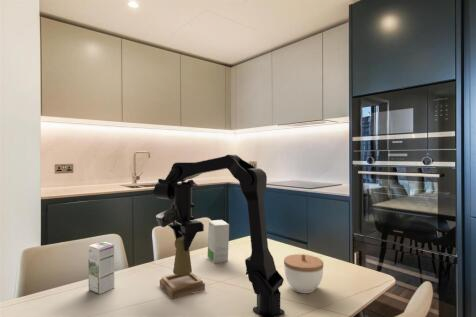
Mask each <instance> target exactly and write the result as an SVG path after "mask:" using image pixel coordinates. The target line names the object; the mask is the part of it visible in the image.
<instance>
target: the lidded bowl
mask: <svg viewBox="0 0 476 317" xmlns="http://www.w3.org/2000/svg"><path fill="white" fill-rule="evenodd" d="M283 264H284V266H283V267H284V268H283V269H284V276H285V279H286V281H287V283H288V285H289V286H290V287H291V289H292V290H293V291H295V292H297V293H300V294H311V293H313V292H315V289H317V288H318V287H319V286H320V284H321V282H322V279H323V275H324V261H323V260H322V259H321V258H319V257H317V256H314V255H310V254H305V253H302V254H299V253H297V254H289V255H286V257H284V258H283Z"/></svg>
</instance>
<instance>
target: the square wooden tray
mask: <svg viewBox="0 0 476 317" xmlns="http://www.w3.org/2000/svg"><path fill="white" fill-rule="evenodd" d="M159 287H161V289H162V290H163V291H164V292H165V293H166V294H167V295H168V296H169V297H170V298H171V299H172V300H174V299H177V298H181V297H184V296H188V295H191V294H195V293H198V292H202V291H205V290H206V283H205V282H204V281H203V280H202V279H201V278H200V277H198V276H197V275H195V273H193V272H191V273H190V274H187V275H176V274H174V273H172V274H169V275H165V276H161V278H160V279H159Z"/></svg>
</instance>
